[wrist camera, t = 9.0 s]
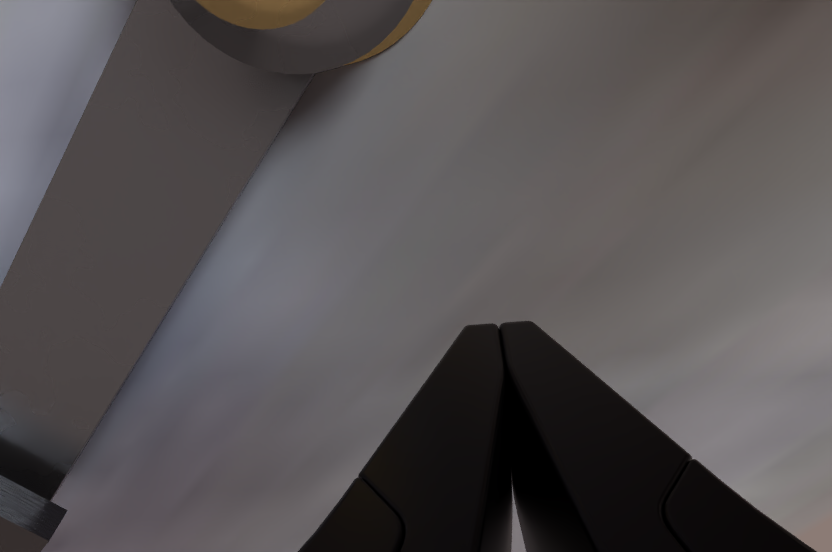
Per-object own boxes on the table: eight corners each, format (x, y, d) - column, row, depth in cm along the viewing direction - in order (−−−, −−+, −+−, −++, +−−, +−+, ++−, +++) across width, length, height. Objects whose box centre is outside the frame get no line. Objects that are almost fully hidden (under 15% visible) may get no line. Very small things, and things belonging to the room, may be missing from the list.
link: (259, -296, 15) (222, -335, 13) (482, -115, 17) (490, -116, 14) (-74, 420, 25) (-133, 480, 22) (87, 496, 26) (49, 560, 24)
